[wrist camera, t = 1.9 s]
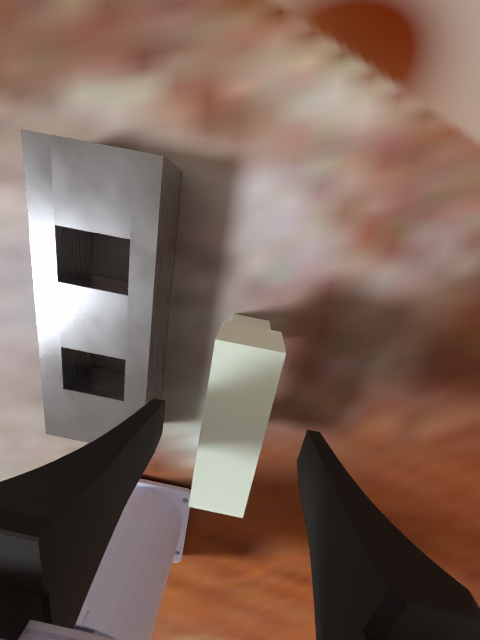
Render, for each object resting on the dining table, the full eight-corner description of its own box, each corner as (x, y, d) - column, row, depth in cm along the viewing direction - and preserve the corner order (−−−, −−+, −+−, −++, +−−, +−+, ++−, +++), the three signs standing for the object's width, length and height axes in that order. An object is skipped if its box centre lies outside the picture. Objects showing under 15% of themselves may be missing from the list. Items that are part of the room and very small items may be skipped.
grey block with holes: (158, 423, 20) (142, 453, 18) (75, 406, 21) (46, 433, 18) (182, 171, 15) (163, 155, 12) (67, 149, 15) (20, 129, 12)
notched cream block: (248, 431, 20) (242, 518, 14) (210, 423, 20) (188, 506, 14) (276, 310, 17) (286, 353, 11) (231, 301, 17) (215, 339, 11)
